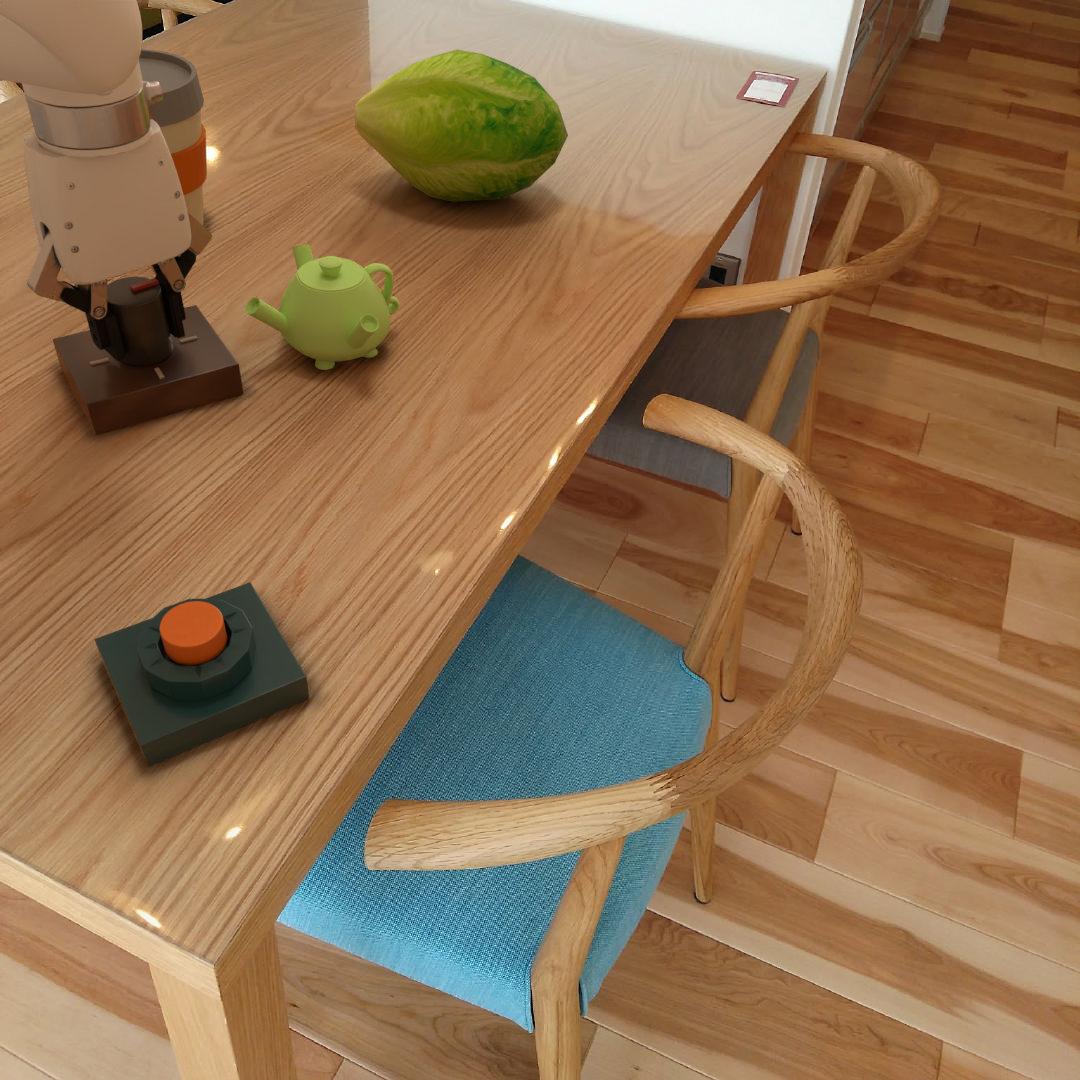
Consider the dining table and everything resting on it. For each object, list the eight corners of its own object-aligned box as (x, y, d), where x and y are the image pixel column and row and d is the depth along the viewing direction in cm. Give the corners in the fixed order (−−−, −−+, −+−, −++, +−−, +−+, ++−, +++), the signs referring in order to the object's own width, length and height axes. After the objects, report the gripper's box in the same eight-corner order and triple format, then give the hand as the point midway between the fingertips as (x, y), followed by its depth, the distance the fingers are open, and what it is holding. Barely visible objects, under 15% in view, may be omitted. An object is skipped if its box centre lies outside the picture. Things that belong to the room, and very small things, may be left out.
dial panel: (95, 435, 80) (86, 402, 77) (61, 369, 85) (51, 336, 83) (243, 393, 85) (238, 362, 83) (201, 334, 90) (196, 302, 88)
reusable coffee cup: (180, 265, 98) (150, 109, 88) (65, 238, 100) (24, 82, 90) (244, 210, 107) (224, 62, 97) (138, 186, 109) (107, 39, 99)
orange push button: (176, 674, 59) (171, 655, 58) (156, 633, 61) (150, 614, 60) (236, 651, 61) (232, 632, 60) (214, 612, 63) (210, 592, 62)
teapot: (417, 325, 94) (416, 241, 88) (375, 395, 86) (372, 308, 80) (302, 303, 95) (293, 218, 89) (250, 370, 87) (237, 282, 81)
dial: (132, 372, 81) (116, 308, 77) (106, 347, 83) (90, 283, 79) (183, 353, 83) (170, 290, 79) (157, 329, 85) (143, 267, 81)
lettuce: (351, 214, 106) (363, 168, 119) (567, 224, 108) (556, 178, 121) (344, 63, 98) (358, 31, 110) (579, 77, 100) (567, 44, 112)
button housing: (148, 767, 59) (134, 727, 56) (102, 661, 64) (87, 619, 61) (309, 698, 63) (304, 657, 60) (254, 604, 68) (247, 562, 66)
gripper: (174, 71, 76) (211, 289, 89) (-60, 122, 67) (18, 356, 80) (229, 105, 72) (259, 326, 85) (-11, 164, 63) (63, 402, 76)
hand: (142, 339), depth 82 cm, fingers closed on dial, 4 cm apart
